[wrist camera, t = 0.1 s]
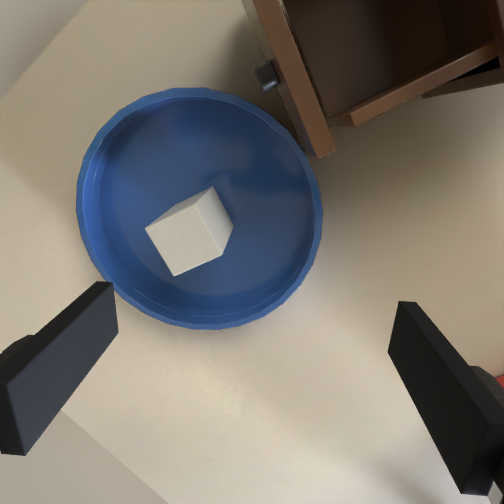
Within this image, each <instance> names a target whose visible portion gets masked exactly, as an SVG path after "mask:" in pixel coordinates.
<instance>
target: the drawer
mask: <svg viewBox="0 0 504 504" xmlns="http://www.w3.org/2000/svg"><path fill="white" fill-rule="evenodd" d="M241 1H242V4H243V7H244V9H245V11H246V14H247V16H248V18H249V21H250V23H251V26H252V28H253V30H254V33H255V35H256V37H257V40H258V42H259V45H260V47H261V49H262V52H263V54H264V56H265V59H266V62H264V63H263V64H261V65H259V66H257V67H256V68H254V72H255V74H256V77H257V79H258V81H259V84H260V86H261V88H262V90H263V92H264V93H265V92H267V91H269V90H271V89H273V88H275V87H278V90H279V92H280V94H281V97H282V99H283V102H284V104H285V106H286V109H287V111H288V113H289V116H290V118H291V121H292V123H293V125H294V128H295V130H296V132H297V135H298V137H299V139H300V142H301V144H302V147H303V149H304V150H305V151H306V152H308V153H309V154H311V155H312V156H314V157H315V158H317V159H320V158H322V157H324V156H326V155H328V154H330V153H332V152H334V151H336V150H337V148H336V145H335V143H334V140H333V138H332V135H331V133H330V130H329V127H328V125H327V122H326V120H325V117H324V115H323V112H322V110H321V107H320V104H319V102H318V99H317V97H316V94H315V92H314V89H313V86H312V84H311V81H310V79H309V76H308V74H307V71H306V69H305V66H304V63H303V61H302V58H301V56H300V53H299V51H298V48H297V46H296V43H295V40H294V38H293V35H292V33H291V30H290V28H289V25H288V23H287V20H286V17H285V15H284V12H283V10H282V7H281V5H280V2H279V0H241ZM281 3H282V5H283V8H284V10H285V13H286V15H287V18H288V20H289V23H290V26H291V28H292V31H293V33H294V36H295V38H296V41H297V44H298V46H299V49H300V51H301V54H302V56H303V59H304V62H305V64H306V67H307V69H308V72H309V74H310V77H311V80H312V82H313V85H314V87H315V90H316V92H317V95H318V98H319V100H320V103H321V105H322V108H323V110H324V113H325V116H326V118H327V121H328V123H329V126H330V128H333V127H356V126H358V125H360V124H362V123H364V122H366V121H368V120H370V119H372V118H374V117H376V116H378V115H380V114H382V113H384V112H386V111H388V110H390V109H392V108H394V107H397V106H399V105H401V104H403V103H405V102H407V101H409V100H411V99H413V98H415V97H417V96H419V95H421V94H423V93H425V92H427V91H429V90H431V89H433V88H435V87H437V86H439V85H441V84H443V83H445V82H447V81H449V80H451V79H453V78H456V77H458V76H460V75H462V74H464V73H466V72H468V71H470V70H472V69H474V68H476V67H478V66H480V65H482V64H484V63H486V62H488V61H490V60H492V59H494V58H496V57H498V53H497V48H496V44H495V39H494V35H493V31H492V26H491V22H490V17H489V13H488V8H487V4H486V0H281Z"/></svg>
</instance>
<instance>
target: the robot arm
mask: <svg viewBox="0 0 504 504" xmlns="http://www.w3.org/2000/svg"><path fill="white" fill-rule="evenodd" d="M117 334H118V324H117V315H116V306H115V297H114V288H113V282H101V281H96V282H95V283H94V284H93V285H92V286H91V287H90V288H88V289H87V290H86V291H85V292H84V293H83V294H81V295H80V296H79V297H78V298H77V299H76V300H74V301H73V302H72V303H71V304H70V305H69V306H68V307H66V308H65V309H64V310H63V311H62V312H61V313H59V314H58V315H57V316H56V317H55V318H54V319H52V320H51V321H50V322H49V323H48V324H47V325H46V326H44V327H43V328H42V329H41V330H40V331H39V332H37V333H36V334H35V335H27V336H25V337H23V338H21V339H20V340H18V341H16V342H14V343H12V344H11V345H10V346H9V347H8V348H6V349H5V350H4V351H3V352H2V354H0V451H1V454H10V455H22V456H26V454H27V453H28V452H29V450H30V449H31V448H32V446H33V445H34V444H35V442H36V441H37V440H38V439H39V437H40V436H41V435H42V433H43V432H44V431H45V429H46V428H47V427H48V425H49V424H50V423H51V421H52V420H53V418H54V417H55V416H56V415H57V413H58V412H59V411H60V409H61V408H62V407H63V405H64V404H65V403H66V402H67V400H68V399H69V398H70V396H71V395H72V394H73V392H74V391H75V390H76V388H77V387H78V386H79V384H80V383H81V382H82V380H83V379H84V378H85V376H86V375H87V374H88V372H89V371H90V370H91V368H92V367H93V366H94V365H95V363H96V362H97V361H98V359H99V358H100V357H101V355H102V354H103V353H104V351H105V350H106V349H107V347H108V346H109V345H110V343H111V342H112V341H113V339H114V338H115V337H116V335H117ZM388 354H389V356H390V358H391V360H392V362H393V363H394V365H395V367H396V369H397V371H398V373H399V375H400V377H401V379H402V381H403V383H404V385H405V387H406V389H407V391H408V392H409V394H410V396H411V398H412V400H413V402H414V404H415V406H416V408H417V410H418V412H419V414H420V416H421V418H422V420H423V421H424V423H425V425H426V427H427V429H428V431H429V433H430V435H431V437H432V439H433V441H434V443H435V445H436V447H437V449H438V451H439V452H440V454H441V456H442V458H443V460H444V462H445V464H446V466H447V468H448V470H449V472H450V474H451V476H452V478H453V480H454V481H455V483H456V485H457V487H458V489H459V491H460V493H461V494H470V495H482V496H488V494H489V492H490V489H491V487H492V484H493V482H495V483H496V485H497V487H498V488H499V490H500V491H501V493H502V495H503V496H502V498H501V500H500V502H499V504H504V388H503V387H502V386H501V385H500V383H499V382H498V381H497V380H496V379H495V378H494V377H493V376H492V375H490V374H489V373H487V372H486V371H485V370H483V369H482V368H480V367H479V366H469V365H468V364H467V363H466V361H465V360H464V359H463V358H462V357H461V355H460V354H459V353H458V352H457V351H456V349H455V348H454V347H453V346H452V345H451V343H450V342H449V341H448V340H447V339H446V337H445V336H444V335H443V334H442V333H441V331H440V330H439V329H438V328H437V327H436V325H435V324H434V323H433V322H432V321H431V319H430V318H429V317H428V316H427V315H426V313H425V312H424V311H423V310H422V309H421V307H420V306H419V305H418V304H417V303H416V302H407V301H399V303H398V307H397V312H396V316H395V321H394V325H393V330H392V334H391V339H390V343H389V348H388Z"/></svg>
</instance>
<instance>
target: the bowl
mask: <svg viewBox="0 0 504 504" xmlns="http://www.w3.org/2000/svg"><path fill="white" fill-rule="evenodd" d="M212 186H213V187H214V189H215V191H216V192H217V194H218V196H219V198H220V200H221V202H222V204H223V206H224V208H225V210H226V212H227V214H228V215H229V217H230V219H231V221H232V223H233V225H234V227H233V229H232V232H231V234H230V237H229V239H228V241H227V244H226V246H225V249H224V251H223V254H222V255H221V256H219V257H216V258H214V259H212V260H210V261H207V262H205V263H203V264H201V265H199V266H196V267H194V268H192V269H190V270H187V271H185V272H183V273H181V274H179V275H176V276H173V274H172V273H171V271H170V269H169V268H168V266H167V264H166V263H165V261H164V259H163V258H162V256H161V255H160V253H159V251H158V250H157V248H156V246H155V245H154V243H153V241H152V240H151V238H150V237H149V235H148V233H147V232H146V230H145V228H146V227H147V226H148V225H150V224H151V223H152V222H154V221H155V220H156V219H157V218H159V217H160V216H161V215H163V214H164V213H165V212H166V211H168V210H169V209H170V208H172V207H173V206H174V205H176V204H178V203H180V202H182V201H184V200H186V199H188V198H190V197H192V196H194V195H196V194H198V193H200V192H202V191H204V190H206V189H208V188H210V187H212ZM76 212H77V218H78V223H79V228H80V233H81V237H82V240H83V242H84V244H85V247H86V249H87V251H88V254H89V256H90V258H91V260H92V262H93V263H94V265H95V266H96V268H97V269H98V271H99V272H100V274H101V275H102V277H103V278H104V280H105V281H106V282H113V288H114V290H115V291H116V292H117V293H118V294H119V295H120V296H121V297H122V298H123V299H124V300H125V301H127V302H128V303H130V304H131V305H133V306H134V307H136V308H137V309H139V310H140V311H142V312H143V313H145V314H146V315H149V316H151V317H153V318H156V319H158V320H160V321H163V322H165V323H167V324H168V323H169V324H171V325H175V326H180V327H184V328H189V329H201V330H219V329H225V328H231V327H237V326H240V325H244V324H246V323H249V322H251V321H254V320H256V319H259V318H262V317H264V316H265V315H267V314H268V313H270V312H271V311H273V310H274V309H276V308H277V307H279V306H280V305H282V304H283V303H284V302H285V301H286V300H287V299H288V298H289V297H290V296H291V295H292V294H293V293H294V292H295V291H296V289H297V288H298V287H299V286H300V285H301V284H302V282H303V280H304V279H305V277H306V275H307V273H308V272H309V270H310V268H311V267H312V265H313V263H314V259H315V256H316V253H317V250H318V247H319V243H320V240H321V232H322V217H323V209H322V203H321V197H320V191H319V185H318V181H317V179H316V177H315V174H314V172H313V170H312V167H311V165H310V162H309V160H308V158H307V156H306V154H305V153H304V151H303V150H302V148H301V147H300V146H299V144H298V143H297V142H296V140H295V139H294V137H293V136H292V135H291V133H290V132H289V131H288V130H287V129H286V128H285V127H284V126H283V125H282V124H280V123H279V122H278V121H277V120H276V119H275V118H273V117H272V116H271V115H270V114H269V113H268V112H266V111H265V110H264V109H262V108H260V107H258V106H256V105H254V104H252V103H250V102H249V101H247V100H245V99H243V98H241V97H239V96H237V95H234V94H230V93H226V92H221V91H217V90H213V89H209V88H171V89H168V90H164V91H161V92H157V93H153V94H150V95H146V96H144V97H141V98H140V99H138V100H136V101H135V102H133V103H131V104H130V105H128V106H126V107H125V108H123V109H121V110H119V112H117V113H116V114H115V115H114V116H113V117H112V118H111V119H110V120H109V121H108V122H107V123H106V124H105V125H104V126H103V127H102V128H101V129H100V130H99V132H98V133H97V135H96V136H95V138H94V140H93V142H92V143H91V145H90V147H89V149H88V150H87V152H86V154H85V156H84V159H83V162H82V166H81V170H80V173H79V177H78V180H77V197H76Z"/></svg>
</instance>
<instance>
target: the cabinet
mask: <svg viewBox="0 0 504 504" xmlns="http://www.w3.org/2000/svg"><path fill="white" fill-rule="evenodd" d="M486 4H487V8H488V13H489V17H490V22H491V26H492V31H493V35H494V39H495V44H496V48H497V53H498V57H496V58H494V59H492V60H490V61H488V62H486V63H484V64H482V65H480V66H478V67H476V68H474V69H472V70H470V71H468V72H466V73H464V74H462V75H460V76H458V77H456V78H453V79H451V80H449V81H447V82H445V83H443V84H441V85H439V86H437V87H435V88H433V89H431V90H429V91H427V92H425V93H423V94H422V96H423V99H426V98H431V97H436V96H441V95H446V94H451V93H455V92H460V91H465V90H470V89H475V88H480V87H485V86H490V85H495V84H500V83H504V0H486Z"/></svg>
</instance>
